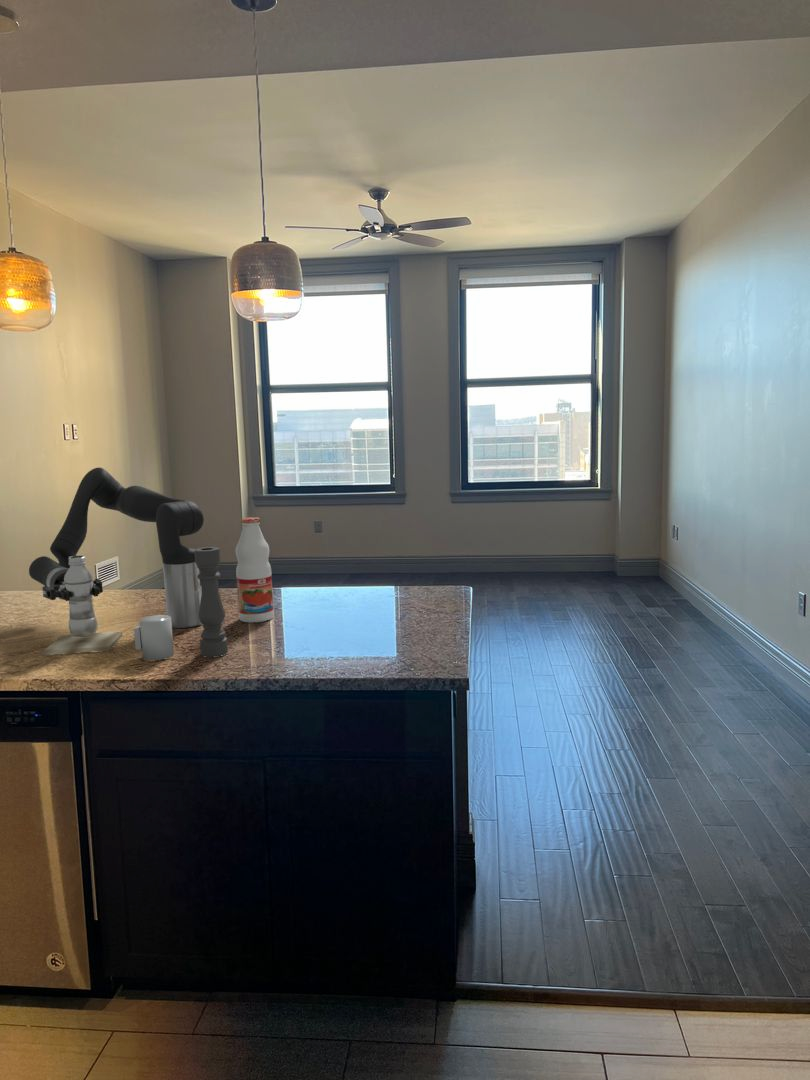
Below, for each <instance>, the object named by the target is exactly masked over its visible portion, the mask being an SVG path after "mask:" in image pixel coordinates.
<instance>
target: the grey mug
mask: <svg viewBox="0 0 810 1080" xmlns="http://www.w3.org/2000/svg"><path fill="white" fill-rule="evenodd" d="M133 633H134V645H135V646H134V647H135V650H141V654H142V659H143V660H144V659H145V660H144V661H147V660H159V661H162V660H161V659H164V660H166V659H165V658H168V659H170V658H169V657H171V656H172V657H173V655H174V656H175V652H174V650H175V649H174V639H173V638H174V637H173V627H172V623H171V617H170V616H167V614H156V615H149V616H144V617H142V618H140V619H139V625H136V626H135V627H133ZM172 657H171V658H172Z"/></svg>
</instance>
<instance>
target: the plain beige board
mask: <svg viewBox="0 0 810 1080" xmlns="http://www.w3.org/2000/svg"><path fill="white" fill-rule="evenodd" d="M123 636H124V635H123V631H111V632H96V633H95V634H93V635H90V636H86V637H75V636H72V634H62V635H60V636H59V637H57V638H56V639H55V640H54V641H53V642H52V643H50V645H49V646H47V647H46V648H45V649H44V650H43V653H44V655H43V656H52V655H51V654H58V655H64V654H63V653H74V654H78V653H77V652H90V653H93V652H92V651H105V652H111V651H112V649H113V648H114V647H115V646H116V645H115V644H117V643H118V642H119V641H120V640H121V639H122V638H123ZM120 638H121V639H120ZM119 639H120V640H119ZM118 640H119V641H118ZM114 645H115V646H114ZM113 646H114V647H113ZM110 650H111V651H110Z"/></svg>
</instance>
